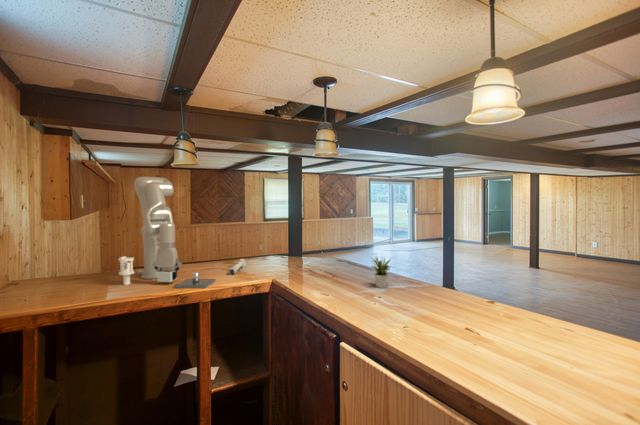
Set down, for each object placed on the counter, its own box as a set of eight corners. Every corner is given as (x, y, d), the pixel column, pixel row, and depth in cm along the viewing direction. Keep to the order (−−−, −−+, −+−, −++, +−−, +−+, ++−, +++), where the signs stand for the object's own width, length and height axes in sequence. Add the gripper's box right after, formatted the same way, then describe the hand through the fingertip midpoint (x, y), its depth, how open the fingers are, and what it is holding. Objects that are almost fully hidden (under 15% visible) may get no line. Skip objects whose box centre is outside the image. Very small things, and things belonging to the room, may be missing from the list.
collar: (157, 281, 166) (157, 272, 166) (164, 278, 173) (164, 269, 173) (170, 282, 166) (170, 272, 166) (177, 278, 173) (177, 269, 173)
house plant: (360, 287, 157) (360, 255, 157) (369, 282, 169) (369, 251, 169) (388, 291, 150) (388, 256, 150) (396, 284, 163) (396, 253, 162)
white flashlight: (226, 268, 190) (239, 256, 214) (227, 279, 191) (239, 266, 215) (235, 269, 189) (246, 256, 214) (236, 279, 191) (247, 266, 215)
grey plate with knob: (174, 288, 160) (174, 275, 160) (187, 281, 174) (186, 269, 174) (205, 288, 159) (205, 275, 159) (215, 281, 173) (215, 269, 173)
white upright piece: (115, 285, 167) (115, 256, 166) (126, 282, 173) (126, 254, 173) (126, 286, 165) (126, 257, 165) (137, 282, 172) (137, 255, 171)
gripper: (147, 246, 166) (147, 280, 166) (179, 247, 165) (179, 281, 166) (155, 244, 173) (155, 276, 174) (186, 245, 172) (186, 277, 173)
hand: (167, 278), depth 170 cm, fingers closed on collar, 7 cm apart
